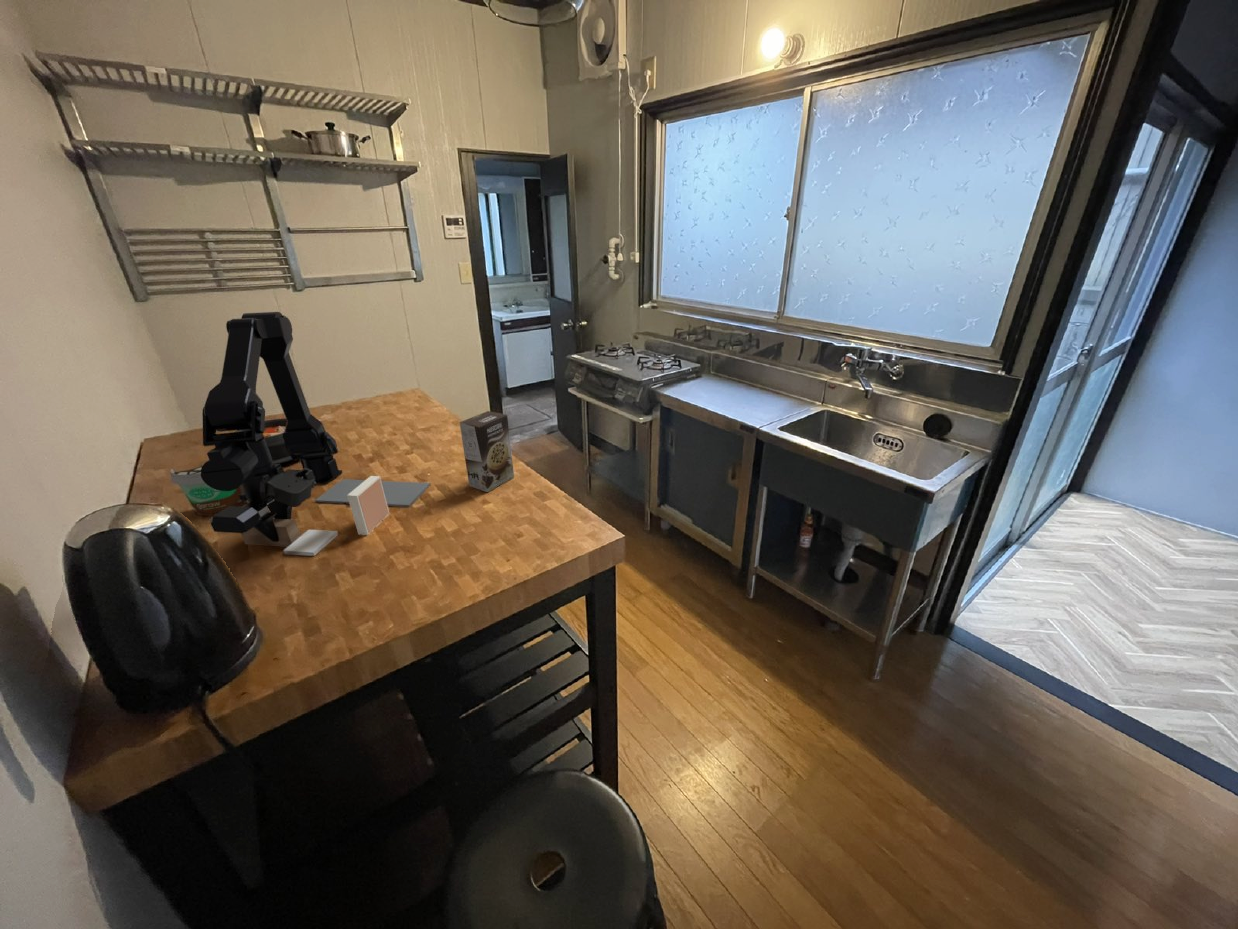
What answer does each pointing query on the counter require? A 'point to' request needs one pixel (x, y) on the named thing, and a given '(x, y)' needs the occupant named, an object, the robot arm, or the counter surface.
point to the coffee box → (487, 450)
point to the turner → (292, 538)
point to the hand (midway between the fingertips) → (281, 536)
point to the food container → (205, 493)
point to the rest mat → (393, 490)
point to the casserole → (276, 440)
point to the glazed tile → (368, 505)
